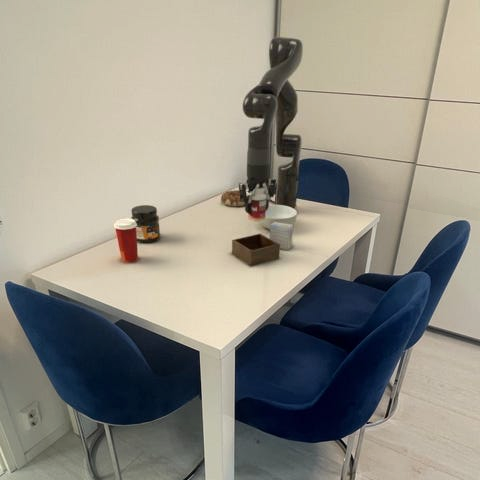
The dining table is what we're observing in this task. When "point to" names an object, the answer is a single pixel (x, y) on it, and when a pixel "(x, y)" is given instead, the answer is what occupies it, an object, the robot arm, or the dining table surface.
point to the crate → (255, 249)
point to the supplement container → (146, 223)
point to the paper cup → (127, 239)
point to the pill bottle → (258, 206)
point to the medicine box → (282, 234)
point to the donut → (232, 198)
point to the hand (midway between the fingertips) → (256, 211)
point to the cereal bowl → (279, 215)
